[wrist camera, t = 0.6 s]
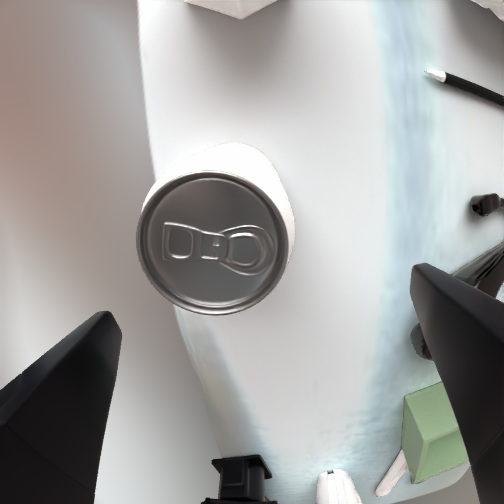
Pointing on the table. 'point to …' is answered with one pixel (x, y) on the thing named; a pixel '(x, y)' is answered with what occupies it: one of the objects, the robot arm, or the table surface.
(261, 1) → the jar
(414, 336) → the cat figurine
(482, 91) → the pen
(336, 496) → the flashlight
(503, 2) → the vase
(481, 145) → the table surface
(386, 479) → the marker
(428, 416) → the bin
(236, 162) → the can
